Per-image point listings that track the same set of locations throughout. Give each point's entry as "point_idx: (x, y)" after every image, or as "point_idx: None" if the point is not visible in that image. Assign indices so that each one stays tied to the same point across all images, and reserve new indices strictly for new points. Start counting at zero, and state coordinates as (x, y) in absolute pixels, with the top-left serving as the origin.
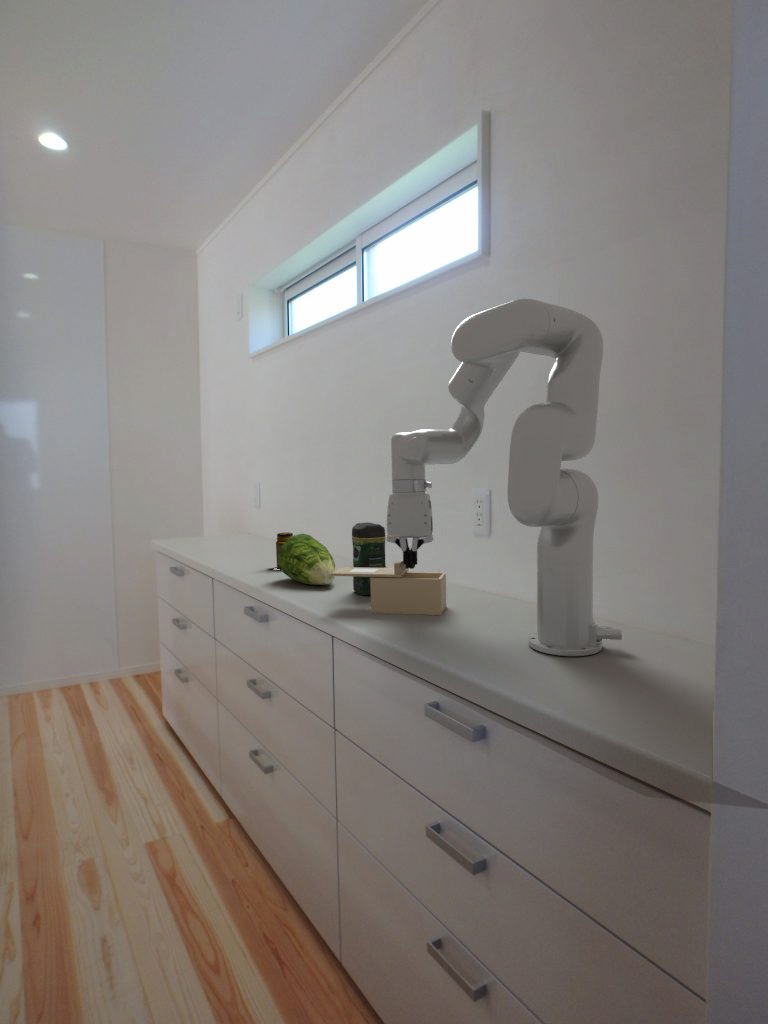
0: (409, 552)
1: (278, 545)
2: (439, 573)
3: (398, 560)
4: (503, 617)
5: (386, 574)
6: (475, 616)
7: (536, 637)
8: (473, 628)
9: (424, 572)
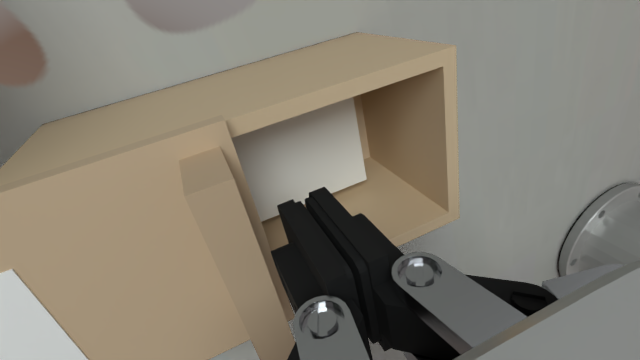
0: (374, 342)
1: None
2: (424, 70)
3: (228, 286)
4: (532, 96)
5: (215, 354)
6: (467, 121)
7: (579, 255)
8: (472, 226)
9: (336, 88)
